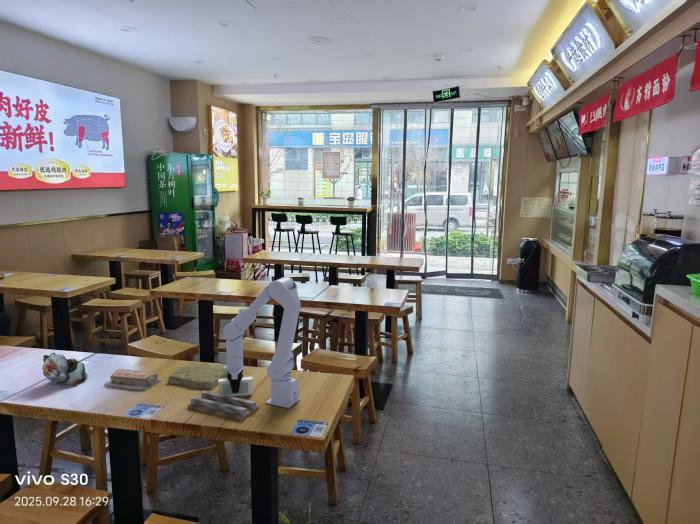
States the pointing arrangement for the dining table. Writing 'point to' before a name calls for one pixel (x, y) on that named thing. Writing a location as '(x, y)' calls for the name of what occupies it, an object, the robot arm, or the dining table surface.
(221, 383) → the tall cream box
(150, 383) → the packaged product
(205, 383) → the green stone slab
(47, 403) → the dining table surface
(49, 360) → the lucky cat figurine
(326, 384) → the dining table surface
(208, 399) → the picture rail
